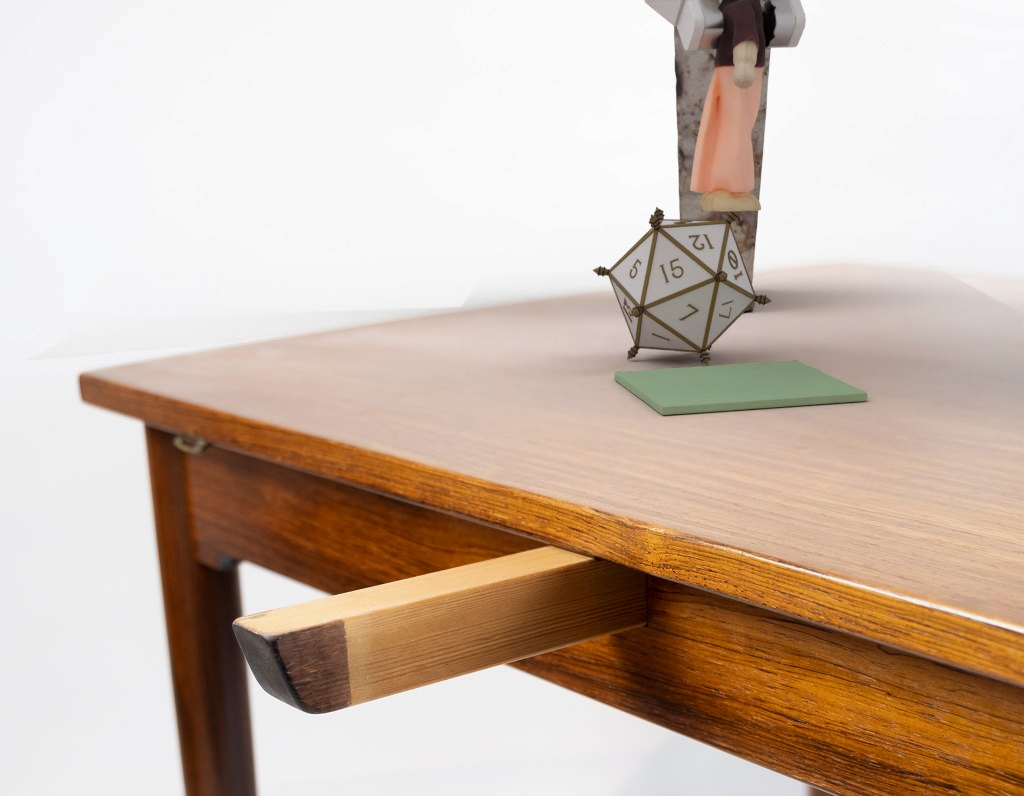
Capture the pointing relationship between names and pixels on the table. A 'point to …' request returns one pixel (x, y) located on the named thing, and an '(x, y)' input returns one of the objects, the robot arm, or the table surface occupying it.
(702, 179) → the grandmother figurine
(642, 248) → the game die
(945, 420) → the table surface
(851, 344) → the table surface
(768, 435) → the table surface
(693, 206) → the stone block
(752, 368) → the mat
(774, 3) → the robot arm
